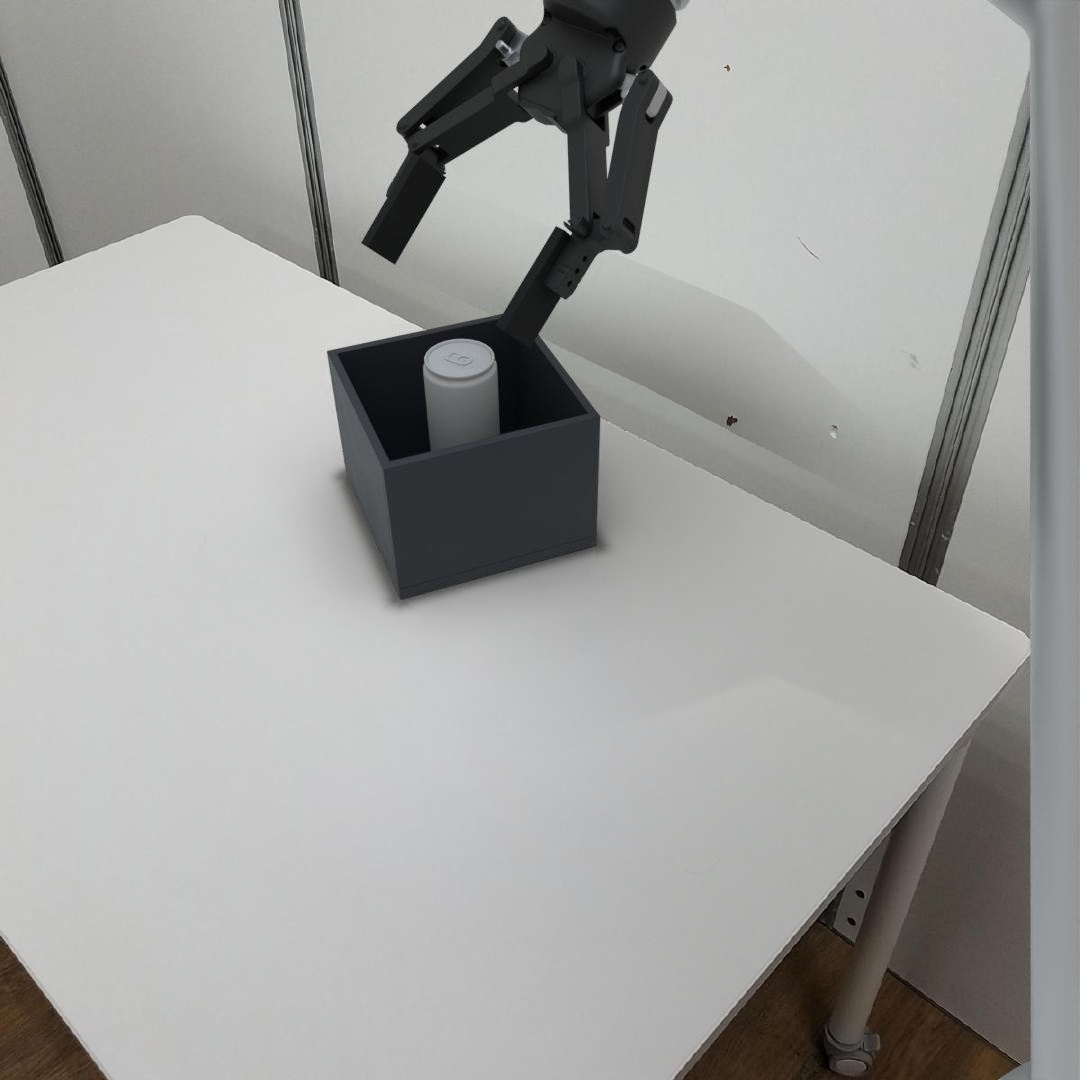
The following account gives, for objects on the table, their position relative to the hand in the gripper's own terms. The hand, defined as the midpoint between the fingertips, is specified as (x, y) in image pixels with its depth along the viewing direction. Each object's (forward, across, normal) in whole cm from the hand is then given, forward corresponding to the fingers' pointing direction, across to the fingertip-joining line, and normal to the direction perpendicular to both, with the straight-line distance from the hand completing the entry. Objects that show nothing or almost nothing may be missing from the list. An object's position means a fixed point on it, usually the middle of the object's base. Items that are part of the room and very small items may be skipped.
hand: (441, 293), depth 68 cm
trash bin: (+12, 0, -13) cm, 18 cm away
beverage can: (+11, 0, -13) cm, 17 cm away
